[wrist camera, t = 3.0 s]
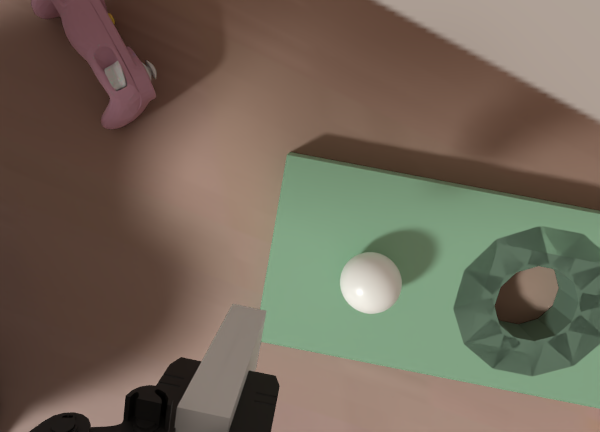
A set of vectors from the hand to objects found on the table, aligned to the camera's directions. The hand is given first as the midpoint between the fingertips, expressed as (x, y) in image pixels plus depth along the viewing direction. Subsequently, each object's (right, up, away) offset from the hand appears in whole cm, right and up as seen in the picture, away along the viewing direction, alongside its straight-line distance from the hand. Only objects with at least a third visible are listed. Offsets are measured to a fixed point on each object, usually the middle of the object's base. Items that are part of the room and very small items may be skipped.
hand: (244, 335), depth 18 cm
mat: (+13, +1, +13) cm, 19 cm away
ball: (+7, +1, +9) cm, 12 cm away
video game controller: (-11, +17, +11) cm, 23 cm away
